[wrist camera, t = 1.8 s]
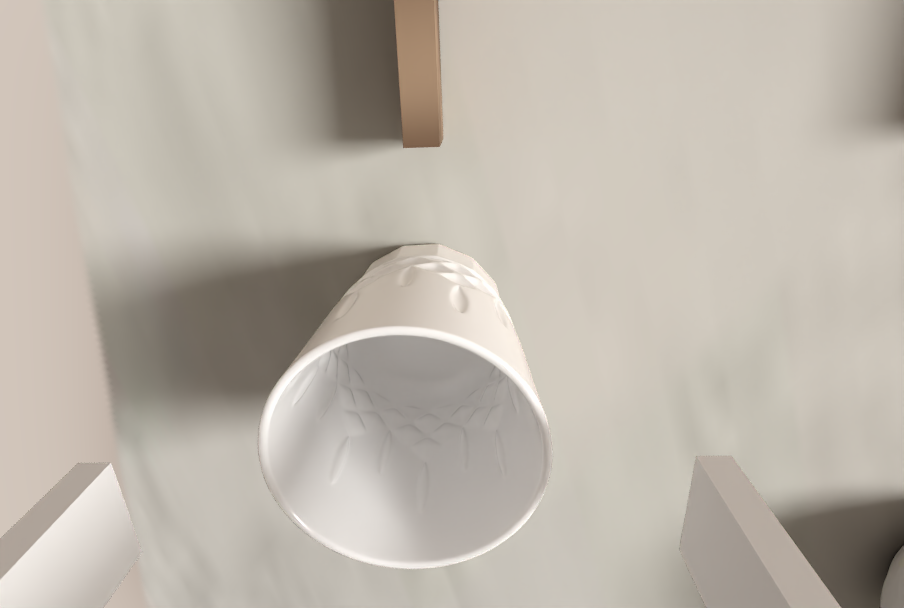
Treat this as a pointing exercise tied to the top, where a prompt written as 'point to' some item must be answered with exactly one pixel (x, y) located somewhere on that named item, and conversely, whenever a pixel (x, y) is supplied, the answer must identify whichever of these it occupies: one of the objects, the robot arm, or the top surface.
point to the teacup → (894, 583)
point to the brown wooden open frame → (419, 72)
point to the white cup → (409, 418)
